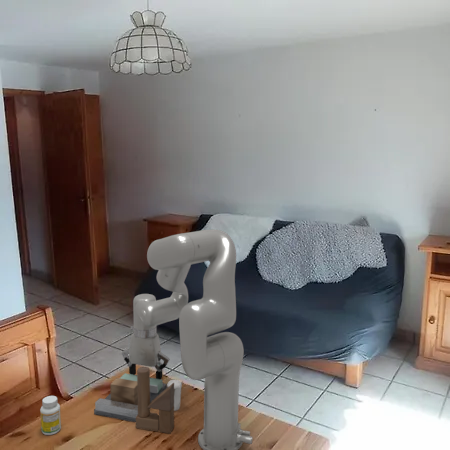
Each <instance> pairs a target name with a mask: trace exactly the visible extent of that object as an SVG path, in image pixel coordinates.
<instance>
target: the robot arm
mask: <svg viewBox="0 0 450 450" xmlns="http://www.w3.org/2000/svg"><path fill="white" fill-rule="evenodd" d="M147 248H148V249H147V254H146V258H147V262H148V264H149V267H151V268H152V269H153V270H155V271H157V273H156V281H157V283H158V285H159V286H160V287H161V288H163V289H164V290H166V291H170V292H172V294H171V295H170V297H166V298H162V299H156V298H157V297H156V296H155V295H153V294H149V293H141V294H138V295H136V296H134V298H133V301H132V303H133V307H132V308H133V312H132V313H133V325H131V326H130V327H129V328H130V331H131V330H132V332H133V333H132V334H131V336H130V341H129V348H128V349H125V350H124V351H122V352H121V355H122V357H123V360H124V361H125V363H126V364H127V367H128V374H132V375H137V365H138V366H139V365H140V366H142V367H148V368H149V367H150V368H153V367H154V368H155V369H156V371H155V378H156V379H162V380H163V369H165V368H166V367H167V366H168V363H169V362H170V361H171V360H170V357H168V356H166V355H165V354H164V353H162V351H161V349H162V348H161V340H160V336H159V334H158V333H157V326H159V325H162V324H165V323H168V322H171V321H175V320H179V321H178V322H179V323H178V324H179V327H178V328H179V341H180V343H179V345H180V358H181V359H180V360H181V365H182V369H183V371H184V373H185V374H186V376H187V377H188V378H189V379H191V380H192V381H193V380H194V381H199V380H204V386H203V387H204V388H203V389H204V390H203V391H204V392H203V428H202V429H201V430H200V432H199V433H198V436H197V441H198V445H199V447H200V449H202V450H239V449H240V448H241V447H242V445H243V443H245V444H250V445H252V444H253V439H254V438H253V436H251V431H249V430H243V429H242V428H241V425H242V424H241V423H239V395H240V393H239V391H240V375H241V368H242V363H243V360H244V354H245V353H244V352H245V351H244V344H243V342H242V339H241V337H239V336H238V335H237V334H236V333H234V332H229V331H225V330H227V329H230V328H231V327H233V326H234V325H235V323H236V320H237V303H236V302H237V301H236V300H237V298H236V283H235V281H236V279H235V278H236V265H237V249H236V246H235V243H234V241H233V239H232V237H231V236H230V235H229V234H228V233H226V232H225V231H224V230H220V229H213V228H212V229H204V230H196V231H191V232H184V233H183V232H182V233H177V234H172V235H169V236H166V237H163V238H159V239H156V240H155V239H154V241H152V242H151V243H150V245H149V247H147ZM205 262H209V264H208V266H207V268H206V270H205V271H204V275H203V278H202V279H203V280H202V286H203V287H202V288H203V295H202V297H201V298H199V299H196V300H192V301H190V302H189V290H188V287H187V285H186V283H185V280H186V278H187V275H188V273H189V272H190V268H191V265H195V264H199V263H200V264H201V263H205ZM223 331H224V332H223ZM161 360H162V361H163V362H162V361H161Z"/></svg>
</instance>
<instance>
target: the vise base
mask: <svg viewBox="0 0 450 450" xmlns="http://www.w3.org/2000/svg"><path fill="white" fill-rule="evenodd" d="M167 384H168V383H164V382H163V387H162V388H161V389H160V390H159V392H158V393H157V394H156V393H151V392H150V403H151V401H152V400H153V399H155V398H156V397H157V396H158V395H159V394H161V393H162V392H163V391H164V390H165V389H167ZM94 404H95V405H94V406H95V407H94V410H93V415H95V416H96V415H97V416H102V417H106V418H112V419H117V420H122V421H125V422H132V423H136V416H137V415H138V405H133V404H128V403H122V402H117V401H112V400H111V392H110V393H109V394H108V395H107V396H106V397H105V398H100V397H99V398H98V399H97V400H96V401H95V403H94Z"/></svg>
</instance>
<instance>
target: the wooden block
mask: <svg viewBox="0 0 450 450" xmlns="http://www.w3.org/2000/svg"><path fill="white" fill-rule="evenodd" d="M150 372H151V369H150V368H149V366H141V367H138V368H137V369H136V375H137V390H138V415H137V416H136V422H135V428H136V429H140V430H146V431H154V432H160V433H163V434H171V433H172V432H173V429H174V427H175V411H174V383H173V384H171V385H170V386H169V387H168V388H166V389H165V390H164V391H163V392H162V393H161V394H159V395H158V396H157V397H156V398H155V399H153V400H152V401H151V403H150V378H151V373H150ZM151 409H153V410H158V412H157V413H156V412H151Z"/></svg>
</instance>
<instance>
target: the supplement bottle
mask: <svg viewBox="0 0 450 450" xmlns="http://www.w3.org/2000/svg"><path fill="white" fill-rule="evenodd" d="M41 401H42V402H41V403H42V405H41V407H40V409H39V411H40V412H39V413H40V426H41V427H40V428H41V432H42V434H44V435H45V436H52V435H55V434H57V433H58V432H60V431H61V429H62V418H61V406H60V405H61V404H60V403H59V402H58V401H59V400H58V397H57V396H55V395H48V396H46V397H44V398H42V400H41Z"/></svg>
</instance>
